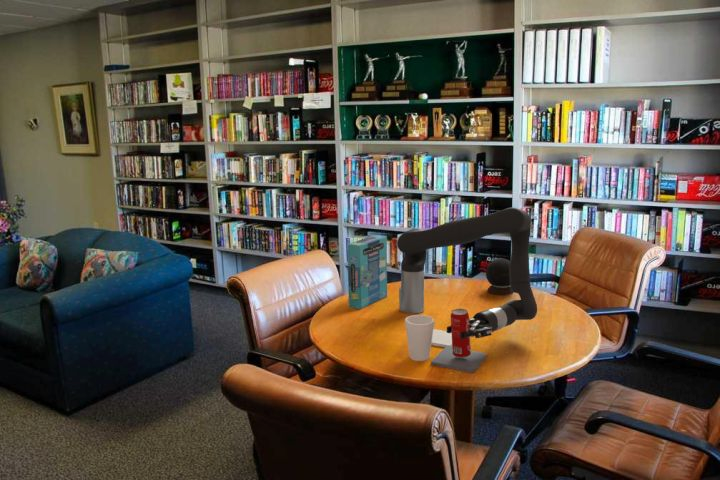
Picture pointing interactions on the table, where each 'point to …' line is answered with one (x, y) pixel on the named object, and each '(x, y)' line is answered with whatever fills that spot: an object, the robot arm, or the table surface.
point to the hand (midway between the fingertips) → (454, 332)
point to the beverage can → (459, 325)
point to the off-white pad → (441, 338)
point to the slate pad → (459, 360)
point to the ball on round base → (499, 277)
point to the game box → (367, 271)
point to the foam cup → (419, 336)
